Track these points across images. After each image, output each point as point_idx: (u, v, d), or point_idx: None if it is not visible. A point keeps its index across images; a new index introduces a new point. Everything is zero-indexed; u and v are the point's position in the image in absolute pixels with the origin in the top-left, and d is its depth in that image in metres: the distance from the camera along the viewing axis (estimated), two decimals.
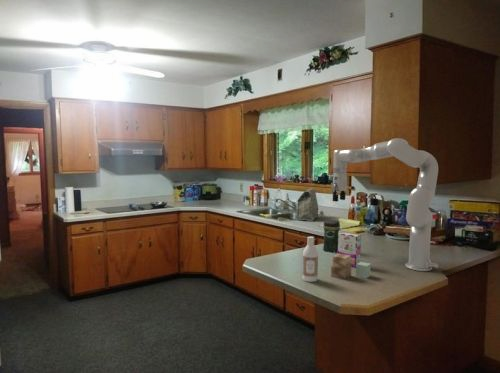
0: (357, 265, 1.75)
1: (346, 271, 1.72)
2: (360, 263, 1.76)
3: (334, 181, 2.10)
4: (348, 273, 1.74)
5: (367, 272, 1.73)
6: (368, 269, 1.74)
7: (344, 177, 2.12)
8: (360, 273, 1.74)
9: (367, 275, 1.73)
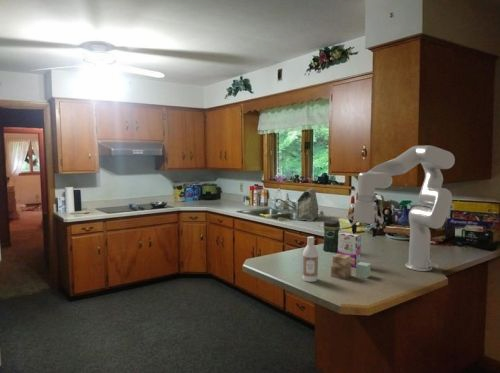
0: (357, 265, 1.75)
1: (346, 271, 1.72)
2: (360, 263, 1.76)
3: (374, 212, 1.69)
4: (348, 273, 1.74)
5: (367, 272, 1.73)
6: (368, 269, 1.74)
7: None
8: (360, 273, 1.74)
9: (367, 275, 1.73)
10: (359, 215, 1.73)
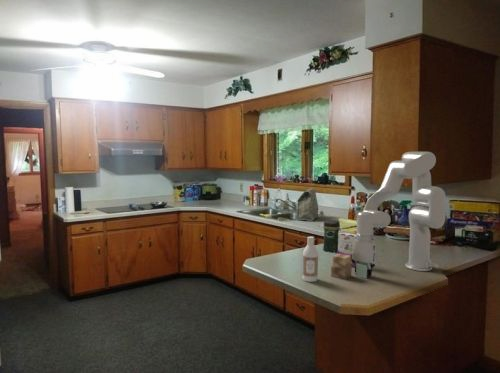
0: (357, 265, 1.75)
1: (346, 271, 1.72)
2: (360, 263, 1.76)
3: (373, 252, 1.71)
4: (348, 272, 1.74)
5: None
6: None
7: None
8: (360, 273, 1.74)
9: None
10: (358, 254, 1.74)
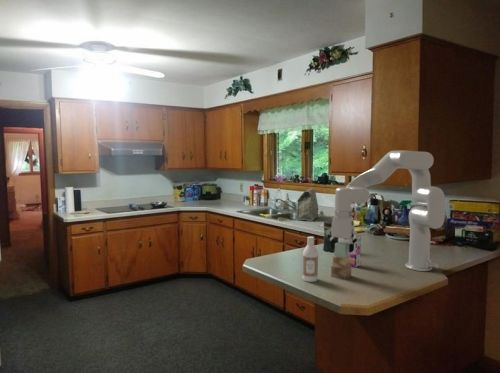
0: (336, 245, 1.73)
1: (346, 271, 1.72)
2: (339, 243, 1.75)
3: (351, 227, 1.70)
4: (348, 272, 1.74)
5: (345, 251, 1.72)
6: (347, 248, 1.73)
7: None
8: (339, 253, 1.73)
9: (345, 254, 1.72)
10: (336, 230, 1.73)
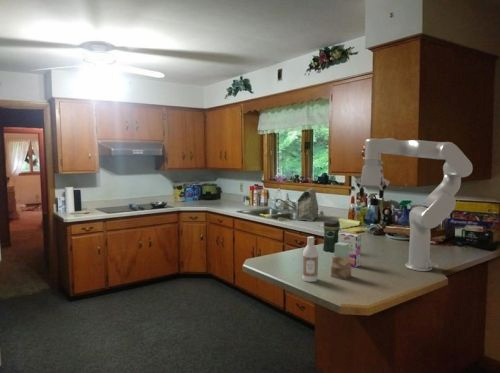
0: (335, 245, 1.73)
1: (346, 271, 1.71)
2: (338, 243, 1.74)
3: (381, 175, 1.82)
4: (348, 273, 1.73)
5: (345, 252, 1.72)
6: (346, 249, 1.72)
7: None
8: (339, 253, 1.72)
9: (345, 255, 1.72)
10: (366, 178, 1.85)
